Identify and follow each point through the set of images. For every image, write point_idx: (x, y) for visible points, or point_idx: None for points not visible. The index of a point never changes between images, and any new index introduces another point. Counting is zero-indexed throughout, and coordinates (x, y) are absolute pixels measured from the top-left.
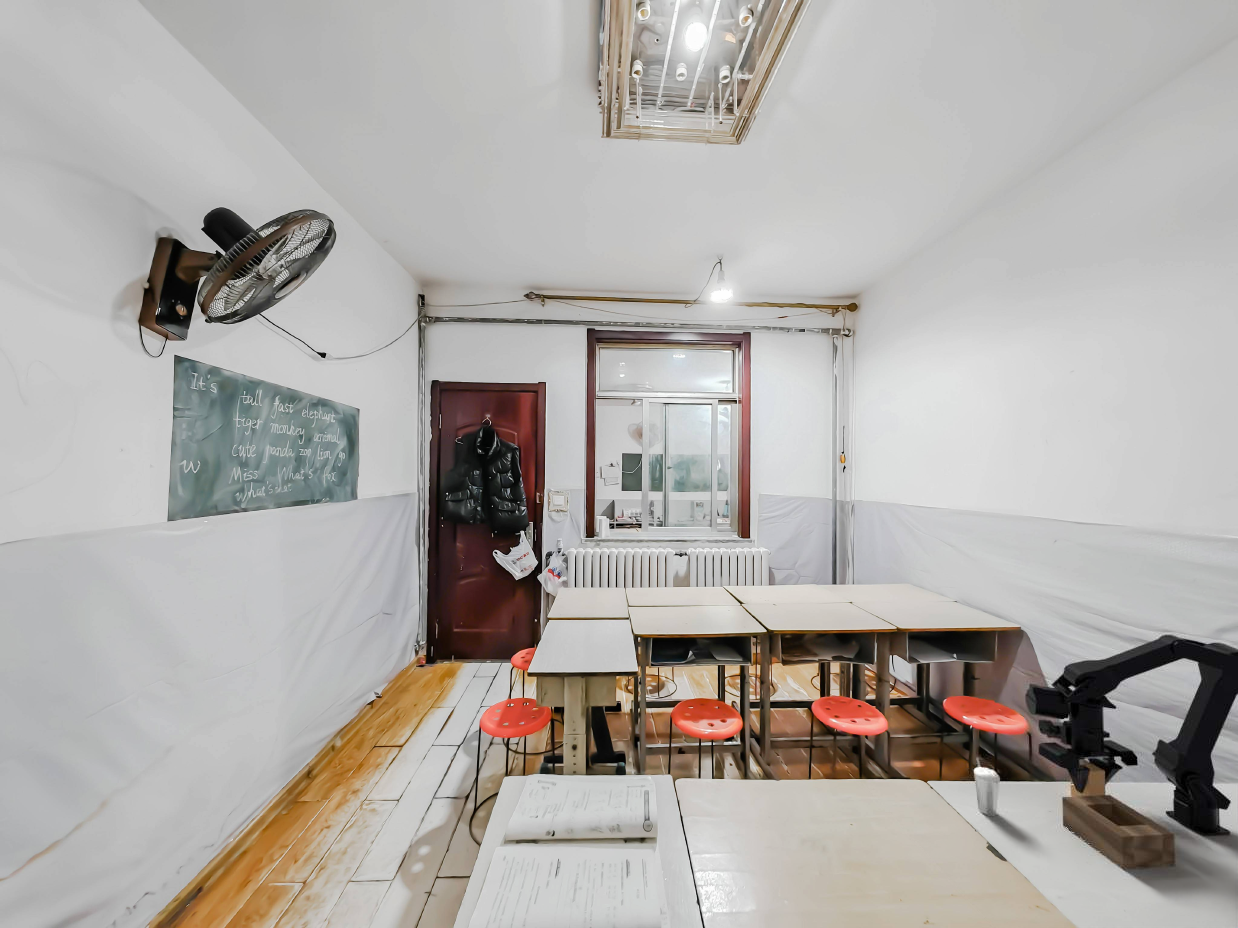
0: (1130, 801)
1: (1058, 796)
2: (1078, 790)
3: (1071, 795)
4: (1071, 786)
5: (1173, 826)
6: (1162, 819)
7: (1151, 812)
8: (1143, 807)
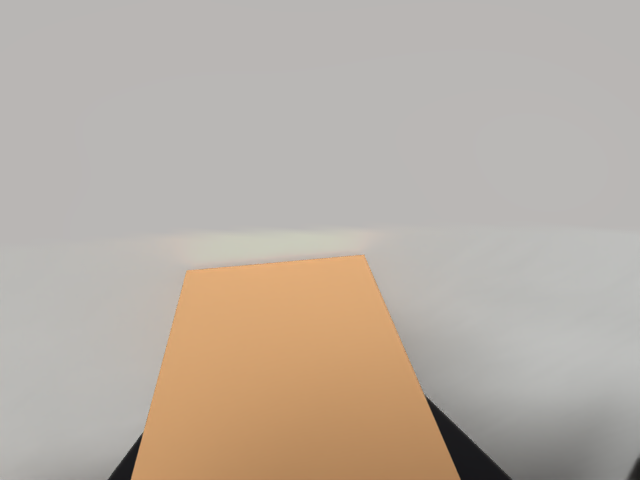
0: (637, 307)
1: (42, 275)
2: None
3: (188, 274)
4: (172, 341)
5: (572, 476)
6: (592, 439)
7: (616, 395)
8: (635, 358)
